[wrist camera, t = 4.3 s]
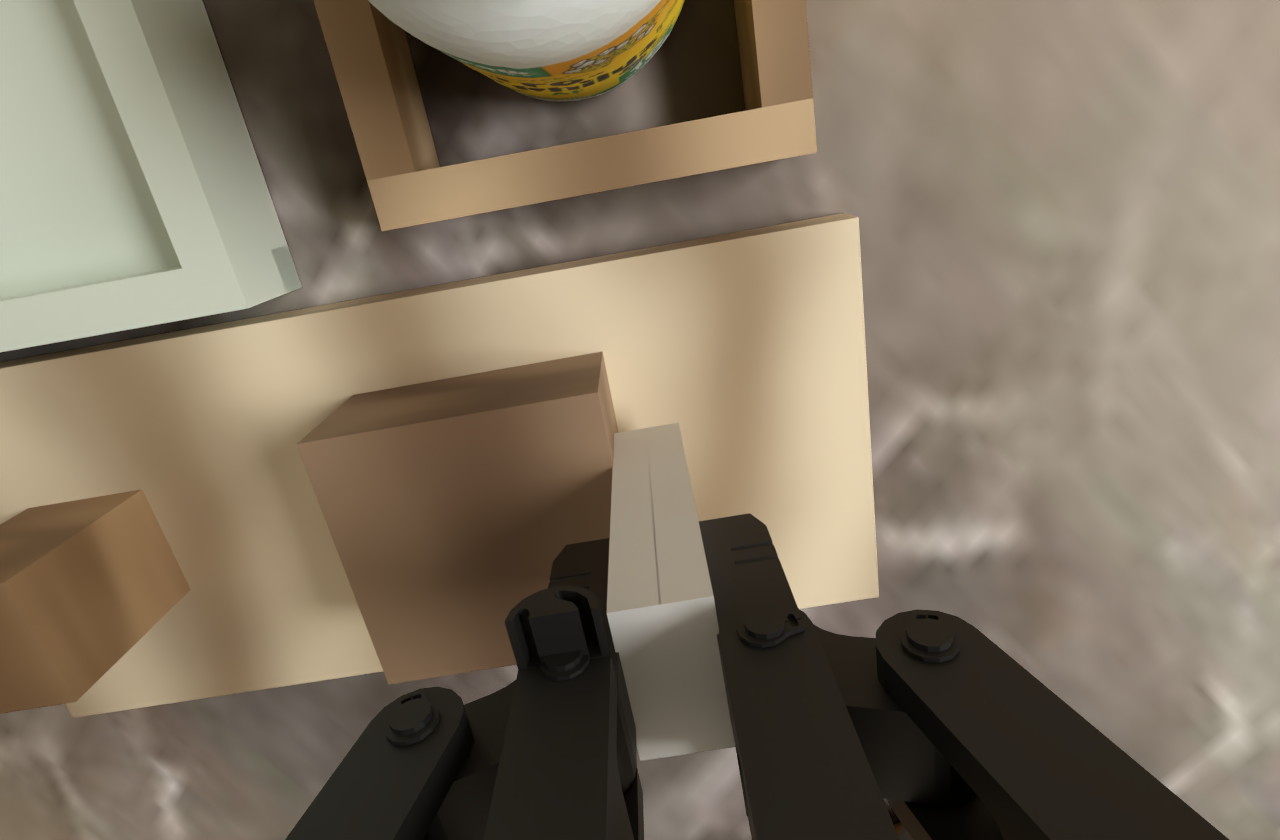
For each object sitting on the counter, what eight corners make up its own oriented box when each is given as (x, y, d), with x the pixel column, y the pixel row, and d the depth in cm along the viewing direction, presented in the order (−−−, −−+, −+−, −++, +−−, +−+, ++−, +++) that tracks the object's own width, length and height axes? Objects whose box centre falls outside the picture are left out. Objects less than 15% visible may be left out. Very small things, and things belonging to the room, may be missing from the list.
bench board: (103, 687, 21) (-60, 850, 16) (-75, 375, 17) (-356, 461, 12) (864, 571, 20) (942, 708, 15) (842, 213, 16) (935, 237, 11)
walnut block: (425, 604, 18) (388, 684, 15) (353, 395, 16) (296, 444, 13) (645, 568, 18) (649, 643, 15) (602, 351, 16) (597, 392, 13)
